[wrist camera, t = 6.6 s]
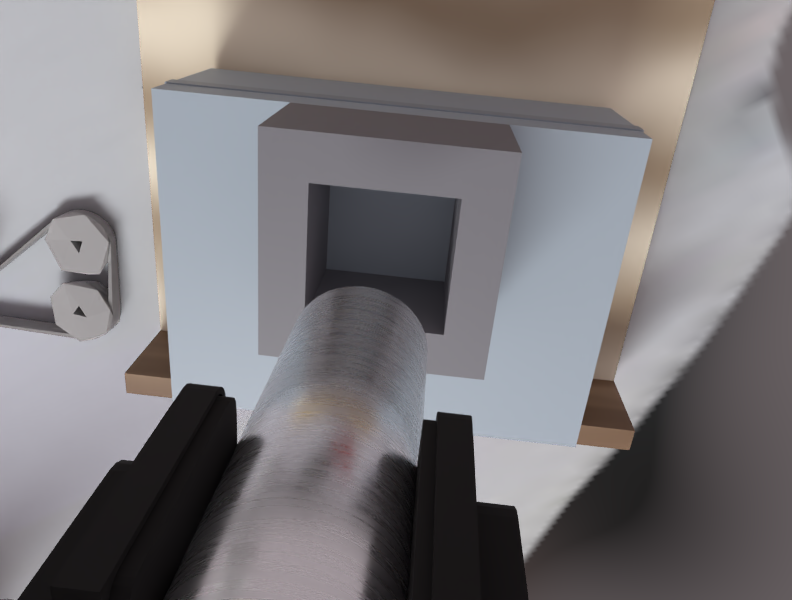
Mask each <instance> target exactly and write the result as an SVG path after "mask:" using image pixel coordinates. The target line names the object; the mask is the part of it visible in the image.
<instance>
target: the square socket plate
mask: <svg viewBox="0 0 792 600" xmlns="http://www.w3.org/2000/svg"><path fill="white" fill-rule="evenodd" d="M151 93H152V108H153V122H154V137H155V152H156V167H157V181H158V196H159V211H160V225H161V240H162V255H163V270H164V284H165V299H166V314H167V328H168V343H169V358H170V373H171V387H172V401H174V400H175V399H176V397H177V396H178V394H179V393H180V391H181V390H182V388H183V387H184V386H185V385H186V384H188V383H192V384H201V385H210V386H219V387H223V388H224V390H225V395H226V397H234V398H235V400H236V409H245V410H254V408H255V406H256V404H257V402H258V400H259V398H260V396H261V394H262V392H263V390H264V388H265V385H266V383H267V381H268V379H269V377H270V375H271V373H272V371H273V369H274V367H275V364H276V362H277V360H278V358H279V356H280V354H281V352H282V350H283V348H284V346H285V344H286V341H287V339H288V337H289V335H290V333H291V331H292V329H293V327H294V325H295V323H296V320H297V318H298V317H299V315H300V313H301V312H302V311H303V309H304V308H305V307H306V306H307V305H308V304H309V303H310V302H311V301H312V300H314V299H315V298H317V297H318V296H320V295H321V294H323V293H325V292H328V291H330V290H333V289H336V288H341V287H347V286H364V287H370V288H375V289H378V290H381V291H384V292H386V293H389V294H391V295H392V296H394V297H396V298H398V299H399V300H400V301H402V302H403V303H404V304H406V305H407V306H408V307H409V308H410V309H411V310H412V311H413V313H414V314H415V315H416V317H417V318H418V320H419V321H420V323H421V325H422V327H423V330H424V332H425V335H426V339H427V347H428V352H427V369H426V385H425V401H424V418H423V419H426V420H435V421H436V416H437V412H446V413H455V414H463V415H471V416H472V423H473V436H482V437H490V438H499V439H508V440H517V441H526V442H534V443H543V444H552V445H561V446H569V447H576V444H577V440H578V436H579V432H580V428H581V424H582V420H583V416H584V412H585V408H586V404H587V400H588V396H589V392H590V388H591V384H592V380H593V376H594V372H595V368H596V364H597V360H598V356H599V352H600V348H601V344H602V340H603V336H604V332H605V328H606V324H607V320H608V316H609V312H610V308H611V304H612V300H613V296H614V292H615V288H616V284H617V280H618V276H619V272H620V268H621V264H622V260H623V256H624V252H625V248H626V244H627V240H628V236H629V232H630V228H631V224H632V220H633V216H634V212H635V208H636V204H637V200H638V196H639V192H640V188H641V184H642V180H643V176H644V172H645V168H646V164H647V160H648V156H649V152H650V148H651V144H652V140H653V139H652V138H650V137H649V136H648V135H646V134H645V133H644V130H643V129H642V128H640V127H639V126H634V125H633V124H631V123H630V122H629V121H627V120H626V119H625V118H623V117H622V116H621V115H619V114H618V113H616V112H615V111H614V110H612V109H611V108H604V107H594V106H584V105H574V104H564V103H554V102H544V101H534V100H524V99H514V98H504V97H494V96H484V95H474V94H464V93H454V92H444V91H434V90H424V89H414V88H404V87H394V86H384V85H374V84H364V83H354V82H344V81H334V80H324V79H314V78H304V77H294V76H284V75H275V74H265V73H255V72H245V71H235V70H225V69H215V68H210V69H207V70H204V71H201V72H198V73H195V74H192V75H190V76H187V77H184V78H181V79H178V80H176V79H171V80H168V81H165V84H163V85H160V86H157V87H154V88H151Z"/></svg>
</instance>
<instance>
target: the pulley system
mask: <svg viewBox="0 0 792 600" xmlns="http://www.w3.org/2000/svg"><path fill="white" fill-rule="evenodd" d="M45 234H47V235H46V238H45V240H46V242H47V244H48V246H49V248H50V250H51V252H52V253H53V255H54V257H55V259H56V261H57V263H58V265H59V266H60V268H61V270H62V271H69V272H76V273H82V274H100V273H101V271H102V270H103V268H104V266H105V265H106V264H107V263H108V289H107V288H106V287H105V286H104V285H102V284H101V283H100V282H98V281H71V282H70V283H63V284H62V285H61V286H60V287H59V288H58V289H57V290H56V291H55V292H54V293H53V295H52V296H51V303H52V308H53V313H54V318H55V323H49V322H42V321H35V320H28V319H21V318H15V317H8V316H1V315H0V327H5V328H12V329H18V330H25V331H31V332H38V333H44V334H51V335H57V336H64V337H70V338H76V339H78V340H79V341H86V340H93V339H96V338H98V337H100V336H102V335H105V334H106V333H107V332H108V331H109V330H111V329H112V328H114V326H115V325H116V324H117V323H118V322H119V320H120V314H121V302H120V288H119V274H118V260H117V246H116V237H115V235H114V232H113V230H112V228H111V227H110V225H109V224H108V223H107V222H106V221H105V220H104V219H103V218H102V217H100V216H99V215H97V214H95V213H93V212H90V211H86V210H81V209H80V210H71V211H68V212H66V213H64V214H62V215H60V216H58V217H56V218H54V219H52V222H50V223H49V224H48V225H47V226H46V227H45V228H43V229H42V230H41V231H40V232H39V233H38V234H36V235H35V236H34V237H33V238H32V239H31V240H29V241H28V242H27V243H26V244H25V245H24V246H22V247H21V248H20V249H19V250H18V251H17V252H15V253H14V254H13V255H12V256H11V257H10V258H8V259H7V260H6V261H5V262H4V263H3V264H1V265H0V271H1V270H2V269H3V268H4V267H6V266H7V265H8V264H9V263H11V262H12V261H13V260H14V259H16V258H17V257H18V256H19V255H21V254H22V253H23V252H24V251H26V250H27V249H28V248H29V247H30V246H32V245H33V244H34V243H35V242H37V241H38V240H39V239H40V238H42V237H43V236H44V235H45Z"/></svg>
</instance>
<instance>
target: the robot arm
mask: <svg viewBox="0 0 792 600" xmlns="http://www.w3.org/2000/svg"><path fill="white" fill-rule="evenodd" d="M236 446H237V412H236V400H235V398H234V397H226V395H225V390H224V388H223V387H219V386H210V385H201V384H192V383H188V384H186V385H185V386H184V387H183V388H182V390H181V391H180V393H179V394H178V396H177V397H176V399H175V400H174V402H173V403H172V405H171V406H170V408H169V409H168V411H167V412H166V414H165V415H164V417H163V418H162V420H161V421H160V423H159V424H158V426H157V427H156V429H155V430H154V432H153V433H152V434H151V436H150V437H149V439H148V440H147V442H146V443H145V445H144V446H143V448H142V449H141V451H140V452H139V454H138V455H137V457H136V458H135V460H134V461H127V460H121V461H119V462H117V463H115V465H114V466H113V467H112V468H111V469H110V470H109V472H108V473H107V474H106V476H105V477H104V479H103V480H102V482H101V483H100V484H99V486H98V487H97V489H96V490H95V491H94V493H93V494H92V496H91V497H90V498H89V500H88V501H87V503H86V504H85V505H84V507H83V508H82V510H81V511H80V513H79V514H78V515H77V517H76V518H75V520H74V521H73V522H72V524H71V525H70V527H69V528H68V529H67V531H66V532H65V534H64V535H63V536H62V538H61V539H60V541H59V542H58V543H57V545H56V546H55V548H54V549H53V551H52V552H51V553H50V555H49V556H48V558H47V559H46V560H45V562H44V563H43V565H42V566H41V567H40V569H39V570H38V572H37V573H36V574H35V576H34V577H33V579H32V580H31V581H30V583H29V584H28V586H27V587H26V589H25V590H24V591H23V593H22V594H21V596H20V597H19V598H18V600H163V599H164V597H165V595H166V593H167V591H168V589H169V587H170V585H171V582H172V580H173V578H174V576H175V574H176V572H177V570H178V568H179V566H180V564H181V562H182V559H183V557H184V555H185V553H186V551H187V549H188V547H189V545H190V543H191V541H192V538H193V536H194V534H195V532H196V530H197V528H198V526H199V524H200V522H201V520H202V517H203V515H204V513H205V511H206V509H207V507H208V505H209V503H210V501H211V499H212V497H213V494H214V492H215V490H216V488H217V486H218V484H219V482H220V480H221V478H222V476H223V473H224V471H225V469H226V467H227V465H228V463H229V461H230V459H231V457H232V455H233V453H234V450H235V448H236ZM0 600H12V599H0ZM408 600H528V592H527V584H526V576H525V568H524V560H523V553H522V545H521V537H520V529H519V521H518V515H517V510H516V508H515V506H508V505H499V504H491V503H483V502H476V483H475V463H474V443H473V423H472V416H471V415H463V414H455V413H446V412H437V416H436V421H435V420H426V419H423V423H422V430H421V438H420V446H419V454H418V462H417V473H416V488H415V502H414V516H413V530H412V545H411V559H410V573H409V587H408Z"/></svg>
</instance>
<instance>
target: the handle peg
mask: <svg viewBox="0 0 792 600" xmlns="http://www.w3.org/2000/svg"><path fill="white" fill-rule="evenodd" d="M427 352H428V347H427V339H426V335H425V332H424V330H423V327H422V325H421V323H420V321H419V320H418V318H417V317H416V315H415V314H414V313H413V311H412V310H411V309H410V308H409V307H408V306H407V305H406V304H404V303H403V302H402V301H400V300H399V299H398V298H396V297H394V296H392V295H391V294H389V293H386V292H384V291H381V290H378V289H375V288H370V287H364V286H347V287H341V288H336V289H333V290H330V291H328V292H325V293H323V294H321V295H320V296H318V297H317V298H315V299H314V300H312V301H311V302H310V303H309V304H308V305H307V306H306V307H305V308H304V309H303V311H302V312H301V313H300V315H299V317H298V318H297V320H296V323H295V325H294V327H293V329H292V331H291V333H290V335H289V337H288V339H287V341H286V344H285V346H284V348H283V350H282V352H281V354H280V356H279V358H278V360H277V362H276V364H275V367H274V369H273V371H272V373H271V375H270V377H269V379H268V381H267V383H266V385H265V388H264V390H263V392H262V394H261V396H260V398H259V400H258V402H257V404H256V406H255V408H254V411H253V413H252V415H251V417H250V419H249V421H248V423H247V425H246V427H245V429H244V432H243V434H242V436H241V438H240V440H239V442H238V444H237V446H236V448H235V450H234V453H233V455H232V457H231V459H230V461H229V463H228V465H227V467H226V469H225V471H224V473H223V476H222V478H221V480H220V482H219V484H218V486H217V488H216V490H215V492H214V494H213V497H212V499H211V501H210V503H209V505H208V507H207V509H206V511H205V513H204V515H203V517H202V520H201V522H200V524H199V526H198V528H197V530H196V532H195V534H194V536H193V538H192V541H191V543H190V545H189V547H188V549H187V551H186V553H185V555H184V557H183V559H182V562H181V564H180V566H179V568H178V570H177V572H176V574H175V576H174V578H173V580H172V582H171V585H170V587H169V589H168V591H167V593H166V595H165V597H164V599H163V600H408V587H409V573H410V559H411V545H412V530H413V516H414V502H415V488H416V473H417V462H418V454H419V446H420V438H421V430H422V423H423V418H424V401H425V385H426V369H427Z"/></svg>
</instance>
